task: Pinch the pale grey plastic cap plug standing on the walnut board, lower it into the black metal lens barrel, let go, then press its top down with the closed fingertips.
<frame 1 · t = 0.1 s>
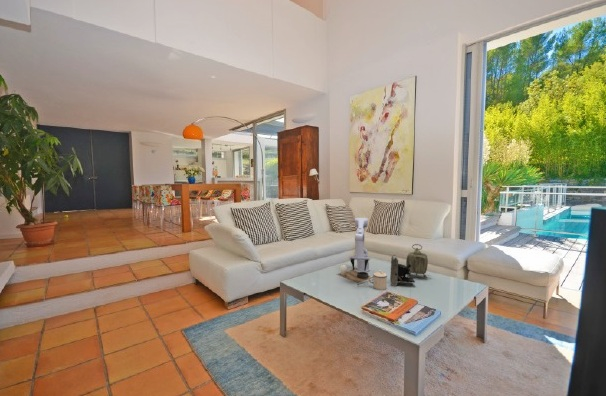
hand: (359, 270, 192), 11 cm above the table, fingers open, 7 cm apart
lens barrel: (362, 278, 205), resting on board
vintage camera: (402, 284, 194), on the table
tabletop clock: (416, 277, 208), on the table
board: (354, 277, 207), on the table
teacup with lid: (377, 287, 189), on the table
cap plug: (343, 274, 210), point 1 cm above the table, touching board
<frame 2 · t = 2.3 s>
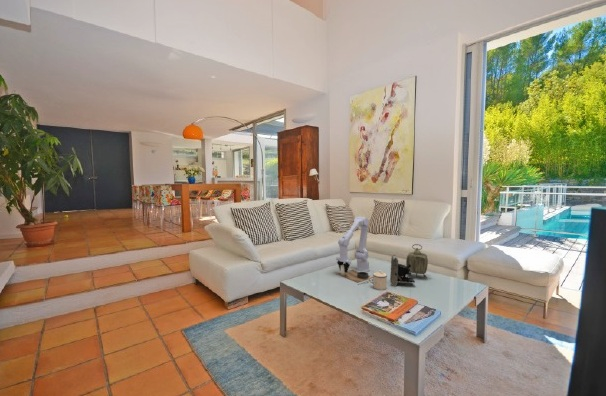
hand: (343, 271, 210), 4 cm above the table, fingers closed on cap plug, 5 cm apart
cap plug: (343, 274, 210), point 1 cm above the table, touching board, gripper
everything else where it was.
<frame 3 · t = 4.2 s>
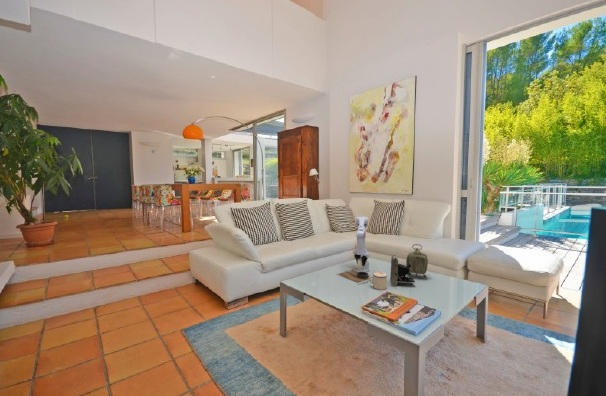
hand: (360, 264, 205), 10 cm above the table, fingers closed on cap plug, 5 cm apart
cap plug: (360, 268, 205), point 8 cm above the table, touching gripper
everything else where it was.
when the fingers open (5 cm above the table, at t = 6.1 s): cap plug stays where it is, resting on board.
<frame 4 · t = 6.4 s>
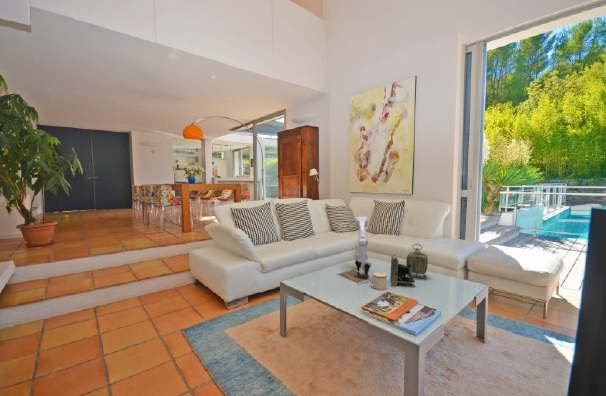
hand: (362, 272, 205), 5 cm above the table, fingers open, 7 cm apart
cap plug: (362, 276, 205), point 1 cm above the table, touching board
everything else where it was.
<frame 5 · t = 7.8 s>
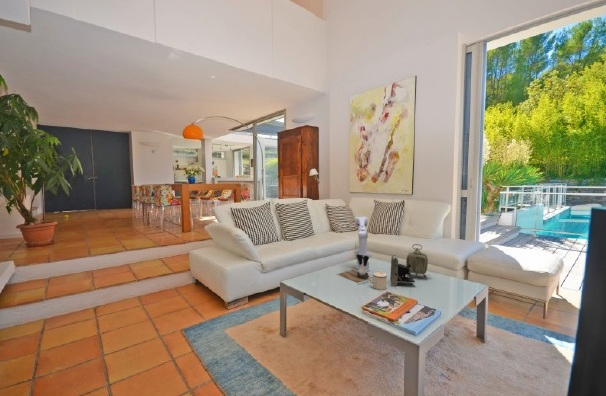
hand: (362, 265, 204), 10 cm above the table, fingers open, 4 cm apart
nothing on the table moved.
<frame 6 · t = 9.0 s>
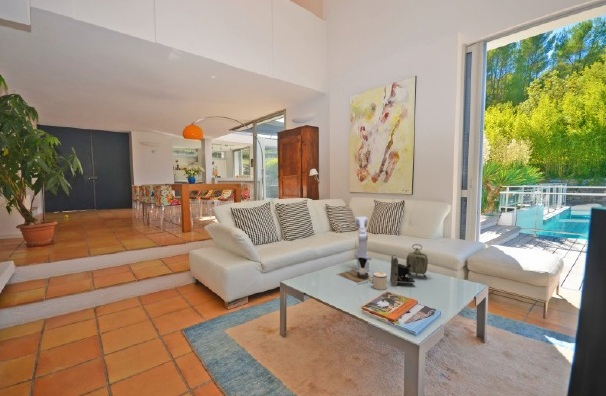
hand: (362, 267, 204), 8 cm above the table, fingers closed, pressing on cap plug
cap plug: (362, 276, 205), point 1 cm above the table, touching board, gripper
everything else where it was.
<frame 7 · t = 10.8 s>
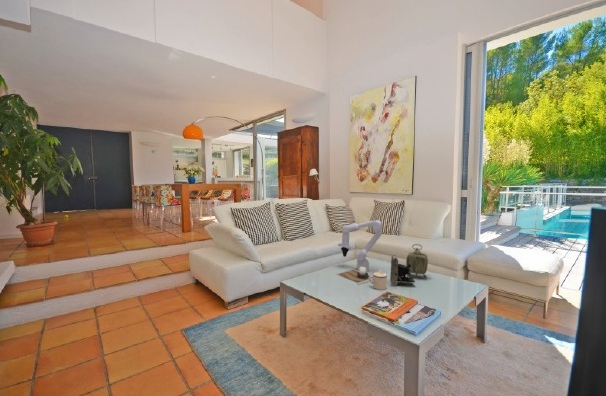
hand: (344, 256, 228), 11 cm above the table, fingers closed
cap plug: (362, 276, 205), point 1 cm above the table, touching board
everything else where it was.
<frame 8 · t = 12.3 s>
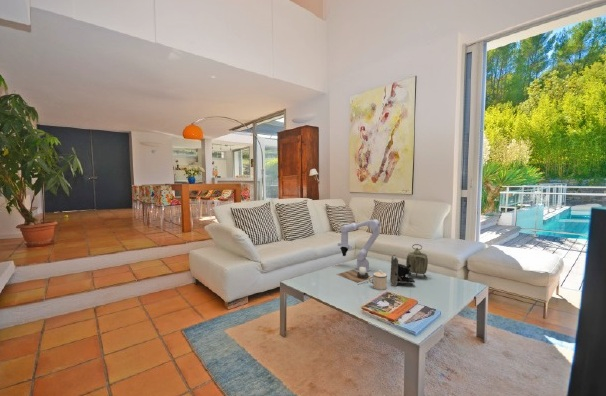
hand: (344, 255, 230), 10 cm above the table, fingers closed
nothing on the table moved.
at the end: cap plug 0.1 cm off-centre on the lens barrel, point 1.5 cm above the lens barrel's base; cap plug tilted 0°; the gripper is holding nothing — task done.
